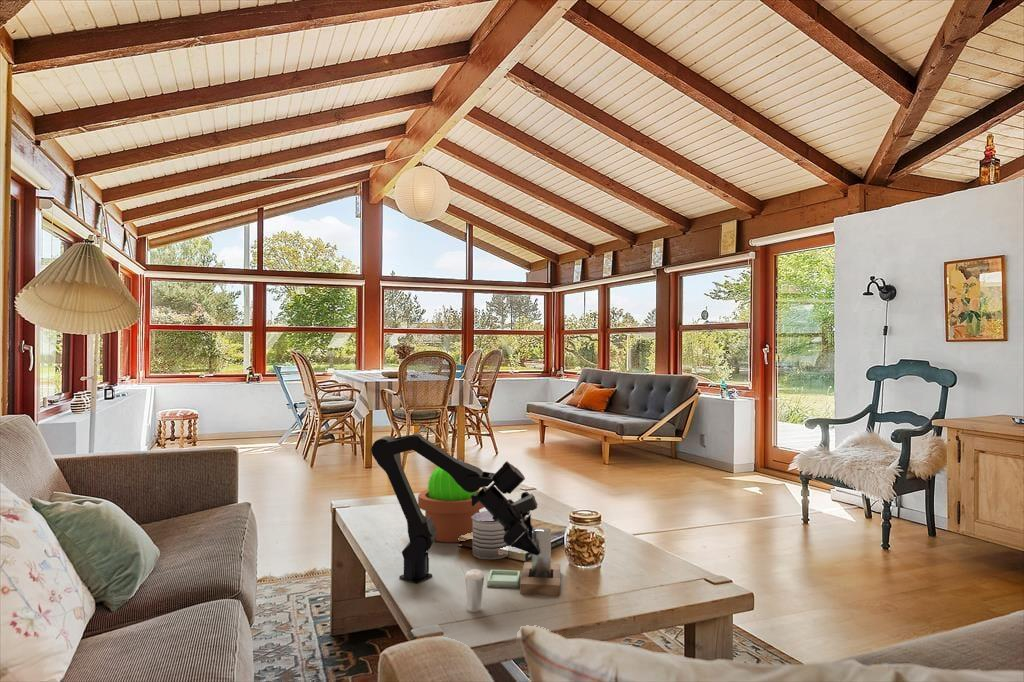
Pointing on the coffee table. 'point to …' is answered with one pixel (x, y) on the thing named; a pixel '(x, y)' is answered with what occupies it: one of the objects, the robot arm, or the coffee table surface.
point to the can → (487, 536)
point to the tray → (503, 578)
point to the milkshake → (474, 589)
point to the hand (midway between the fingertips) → (539, 548)
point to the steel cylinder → (542, 552)
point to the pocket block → (540, 581)
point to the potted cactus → (448, 506)
